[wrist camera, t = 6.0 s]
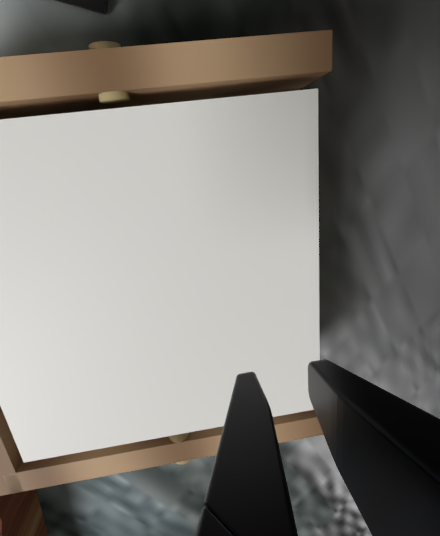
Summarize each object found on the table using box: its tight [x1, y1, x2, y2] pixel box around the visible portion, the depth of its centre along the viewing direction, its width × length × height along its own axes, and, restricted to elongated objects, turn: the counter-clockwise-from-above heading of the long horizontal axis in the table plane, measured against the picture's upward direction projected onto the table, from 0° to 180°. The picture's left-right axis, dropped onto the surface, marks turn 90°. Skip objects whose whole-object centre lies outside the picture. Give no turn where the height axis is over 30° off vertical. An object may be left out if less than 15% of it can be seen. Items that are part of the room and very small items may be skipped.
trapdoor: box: [0, 89, 320, 463], centre depth 14 cm, size 14×14×3 cm
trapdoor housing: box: [0, 30, 332, 496], centre depth 16 cm, size 16×18×6 cm
